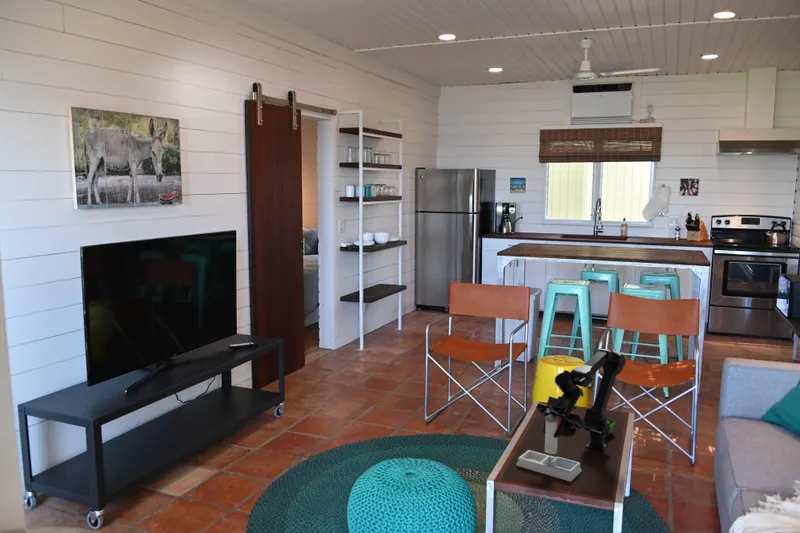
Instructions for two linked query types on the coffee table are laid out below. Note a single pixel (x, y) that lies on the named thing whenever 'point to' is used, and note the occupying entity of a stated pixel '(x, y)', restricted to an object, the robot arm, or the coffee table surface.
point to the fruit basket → (610, 424)
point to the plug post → (551, 434)
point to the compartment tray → (549, 465)
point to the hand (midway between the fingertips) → (549, 435)
